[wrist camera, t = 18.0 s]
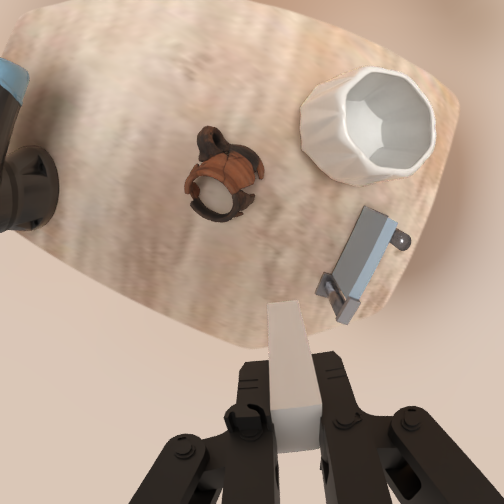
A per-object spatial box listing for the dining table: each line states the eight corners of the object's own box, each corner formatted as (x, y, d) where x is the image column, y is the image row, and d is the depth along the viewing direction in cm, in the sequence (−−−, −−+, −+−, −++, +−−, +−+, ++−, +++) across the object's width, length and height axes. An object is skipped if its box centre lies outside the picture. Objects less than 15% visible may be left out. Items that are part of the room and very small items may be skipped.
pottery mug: (279, 189, 38) (259, 222, 32) (223, 201, 43) (197, 233, 37) (244, 108, 32) (212, 126, 26) (188, 131, 37) (152, 154, 31)
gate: (332, 293, 41) (347, 325, 33) (323, 290, 41) (336, 321, 33) (373, 210, 37) (401, 224, 29) (364, 205, 37) (390, 219, 29)
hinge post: (314, 293, 42) (325, 320, 34) (323, 272, 41) (336, 296, 33) (335, 298, 42) (348, 326, 35) (344, 278, 41) (360, 303, 34)
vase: (387, 91, 32) (445, 65, 18) (390, 184, 36) (451, 201, 22) (292, 81, 33) (311, 38, 18) (295, 181, 37) (318, 196, 23)
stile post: (358, 230, 39) (385, 252, 29) (367, 207, 38) (397, 222, 28) (378, 237, 39) (409, 261, 29) (387, 215, 38) (420, 233, 28)
